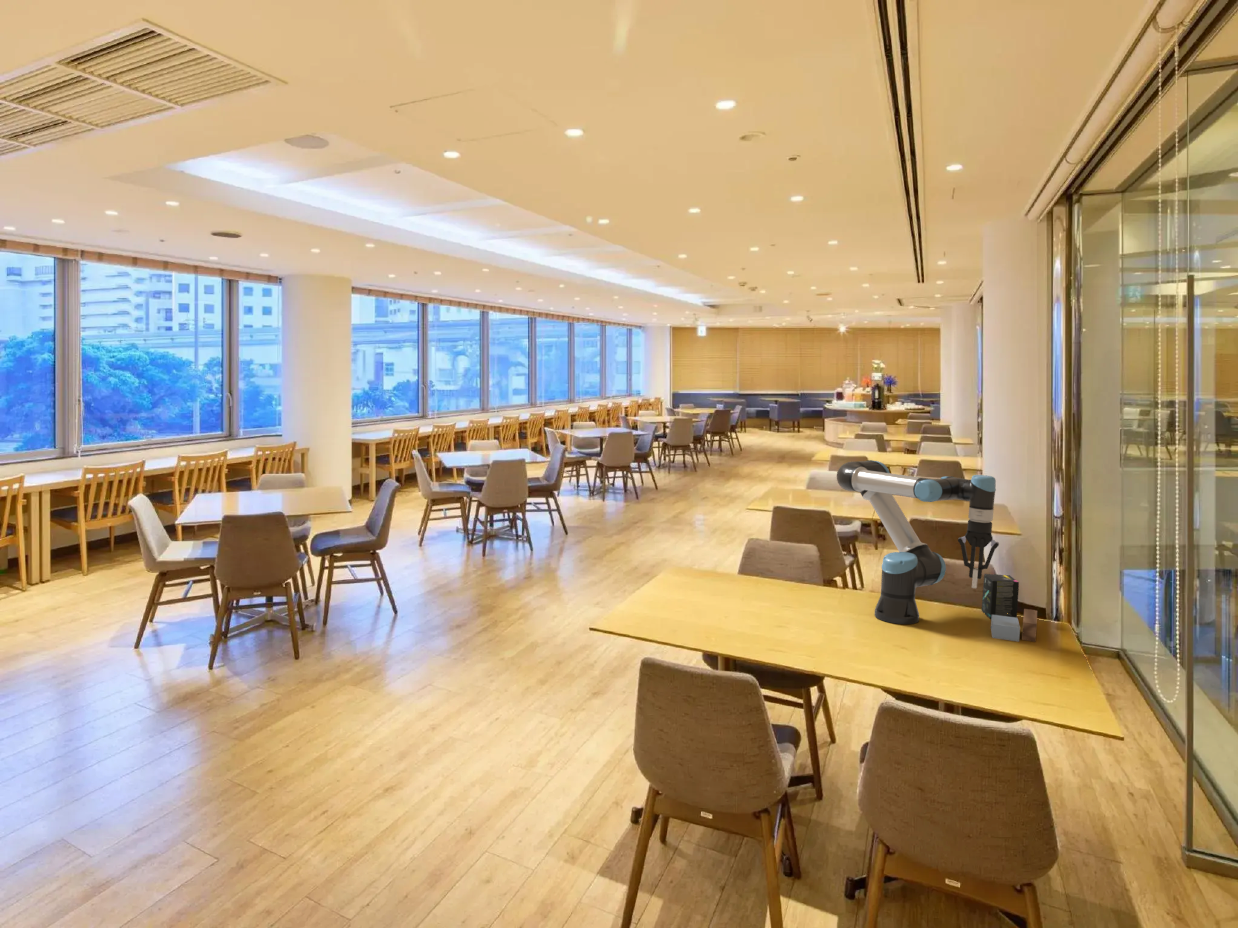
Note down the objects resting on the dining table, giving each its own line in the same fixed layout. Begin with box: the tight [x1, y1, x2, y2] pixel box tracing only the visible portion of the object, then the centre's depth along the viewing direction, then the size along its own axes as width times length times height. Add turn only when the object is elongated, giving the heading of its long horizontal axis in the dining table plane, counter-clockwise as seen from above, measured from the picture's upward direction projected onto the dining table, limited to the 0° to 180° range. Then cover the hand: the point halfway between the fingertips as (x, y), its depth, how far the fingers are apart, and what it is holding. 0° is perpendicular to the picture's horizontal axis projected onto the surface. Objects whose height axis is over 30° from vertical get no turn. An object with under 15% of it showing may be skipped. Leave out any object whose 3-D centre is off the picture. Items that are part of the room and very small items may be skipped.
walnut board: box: [1021, 608, 1038, 643], centre depth 251 cm, size 4×18×6 cm, turn 150°
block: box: [990, 615, 1021, 642], centre depth 249 cm, size 8×12×5 cm, turn 155°
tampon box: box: [981, 573, 1020, 620], centre depth 269 cm, size 11×9×15 cm
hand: (974, 587), depth 253 cm, fingers closed
